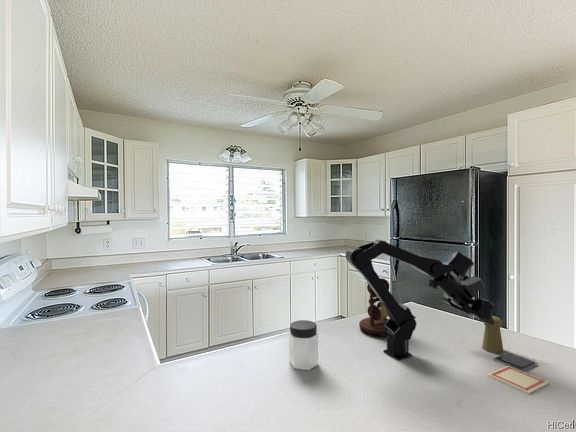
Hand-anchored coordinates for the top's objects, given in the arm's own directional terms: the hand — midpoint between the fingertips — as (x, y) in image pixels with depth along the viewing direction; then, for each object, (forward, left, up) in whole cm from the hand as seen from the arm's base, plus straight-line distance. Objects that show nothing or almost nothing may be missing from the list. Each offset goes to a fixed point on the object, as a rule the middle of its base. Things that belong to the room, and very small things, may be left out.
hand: (483, 318), depth 103 cm
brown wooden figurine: (-18, +29, -11) cm, 36 cm away
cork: (+3, -1, -11) cm, 11 cm away
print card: (-10, -15, -10) cm, 21 cm away
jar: (-57, +20, -11) cm, 62 cm away
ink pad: (0, -10, -10) cm, 14 cm away
